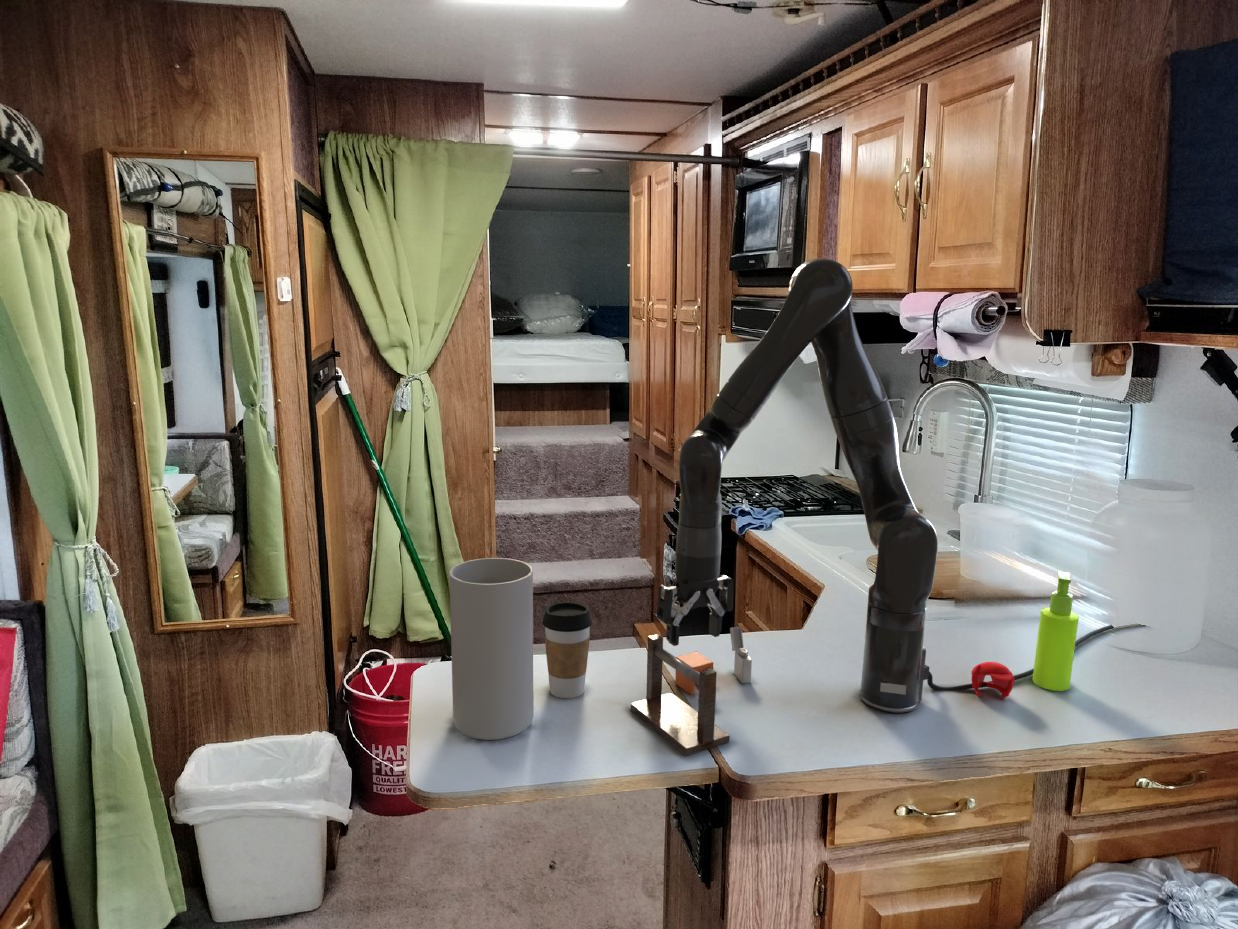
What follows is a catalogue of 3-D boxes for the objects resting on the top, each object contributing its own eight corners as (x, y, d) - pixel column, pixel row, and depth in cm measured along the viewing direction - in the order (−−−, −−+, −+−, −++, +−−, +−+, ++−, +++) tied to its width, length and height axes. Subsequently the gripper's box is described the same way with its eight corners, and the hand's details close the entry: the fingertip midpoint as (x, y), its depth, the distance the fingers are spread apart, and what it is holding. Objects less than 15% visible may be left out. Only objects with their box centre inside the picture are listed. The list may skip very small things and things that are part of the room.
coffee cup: (554, 706, 139) (554, 620, 136) (534, 685, 146) (534, 602, 143) (600, 696, 143) (601, 611, 140) (579, 675, 150) (579, 595, 147)
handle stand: (671, 698, 142) (673, 630, 140) (729, 742, 129) (733, 667, 126) (630, 709, 138) (631, 639, 136) (686, 756, 125) (688, 679, 122)
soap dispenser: (1068, 677, 152) (1082, 571, 148) (1070, 693, 146) (1084, 583, 142) (1032, 671, 155) (1045, 566, 151) (1032, 686, 149) (1046, 578, 145)
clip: (695, 677, 150) (696, 651, 149) (712, 689, 146) (713, 662, 145) (675, 683, 148) (675, 656, 147) (691, 695, 144) (692, 667, 143)
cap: (959, 687, 148) (962, 655, 147) (986, 682, 150) (990, 651, 149) (993, 708, 141) (997, 675, 139) (1021, 703, 143) (1025, 670, 142)
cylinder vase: (451, 706, 138) (447, 560, 133) (527, 699, 141) (527, 555, 136) (455, 746, 126) (451, 587, 121) (538, 737, 129) (538, 581, 124)
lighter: (751, 682, 149) (753, 639, 147) (741, 683, 148) (743, 640, 147) (737, 665, 155) (739, 624, 154) (728, 666, 155) (729, 624, 153)
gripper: (675, 561, 135) (671, 656, 138) (746, 549, 142) (740, 640, 145) (650, 548, 141) (647, 639, 145) (719, 537, 149) (714, 625, 152)
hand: (694, 639), depth 145 cm, fingers open, 8 cm apart
